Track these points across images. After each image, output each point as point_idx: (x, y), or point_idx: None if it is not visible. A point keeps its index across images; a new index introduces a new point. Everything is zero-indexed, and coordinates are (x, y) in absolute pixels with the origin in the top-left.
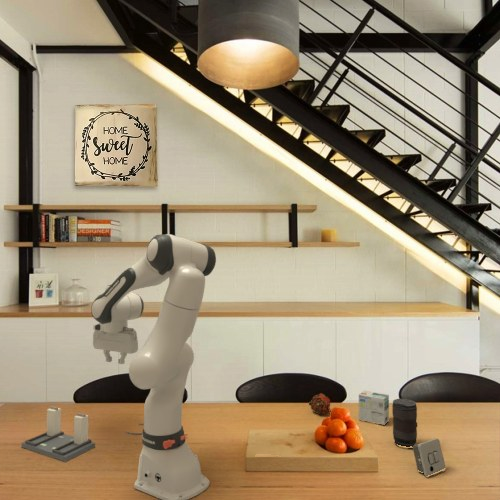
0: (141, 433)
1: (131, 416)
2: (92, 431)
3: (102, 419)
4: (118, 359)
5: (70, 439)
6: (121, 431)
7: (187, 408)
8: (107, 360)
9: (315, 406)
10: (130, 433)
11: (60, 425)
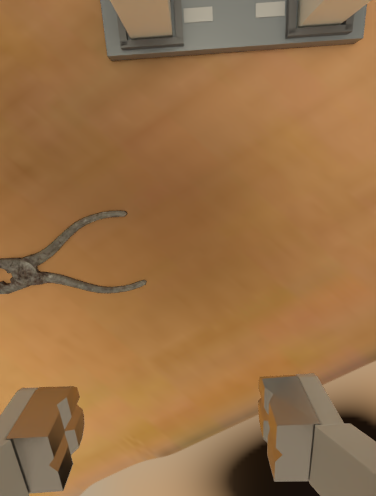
0: (68, 230)
1: (218, 314)
2: (235, 154)
3: (288, 247)
4: (45, 433)
5: (217, 18)
6: (146, 211)
7: (118, 434)
8: (285, 385)
9: None
10: (102, 213)
11: (310, 12)
